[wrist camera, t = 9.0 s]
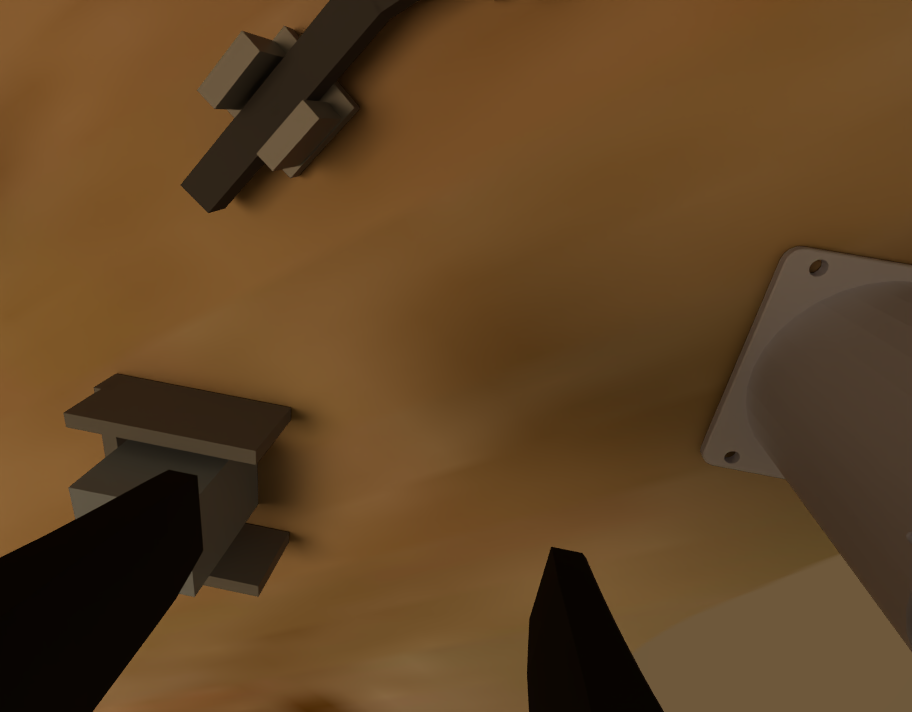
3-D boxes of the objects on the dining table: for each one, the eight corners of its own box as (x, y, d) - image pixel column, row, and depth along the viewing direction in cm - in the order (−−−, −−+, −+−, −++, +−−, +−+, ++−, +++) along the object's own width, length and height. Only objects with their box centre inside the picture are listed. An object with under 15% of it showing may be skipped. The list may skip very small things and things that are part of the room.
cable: (671, -299, 11) (684, -337, 10) (712, -192, 12) (728, -218, 11) (176, 152, 16) (155, 154, 16) (222, 210, 17) (205, 215, 16)
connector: (256, 428, 21) (174, 523, 16) (258, 503, 23) (184, 611, 18) (163, 410, 22) (53, 499, 16) (172, 486, 23) (74, 588, 18)
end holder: (290, 407, 21) (255, 451, 18) (288, 542, 24) (258, 596, 21) (116, 373, 21) (55, 411, 18) (136, 510, 24) (86, 560, 21)
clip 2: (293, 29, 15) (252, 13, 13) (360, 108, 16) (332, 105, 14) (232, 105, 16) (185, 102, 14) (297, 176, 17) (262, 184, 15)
